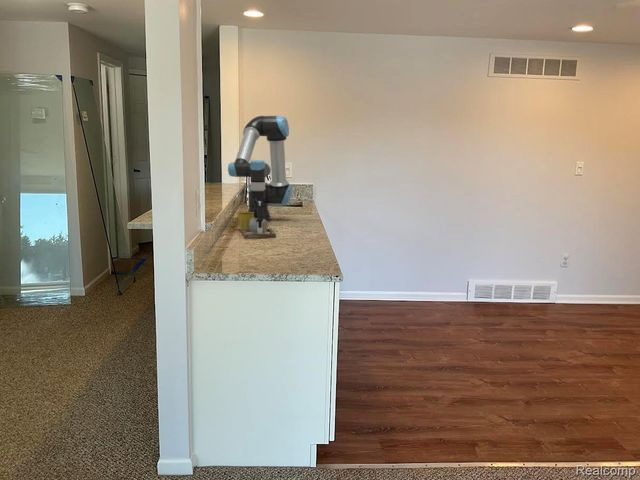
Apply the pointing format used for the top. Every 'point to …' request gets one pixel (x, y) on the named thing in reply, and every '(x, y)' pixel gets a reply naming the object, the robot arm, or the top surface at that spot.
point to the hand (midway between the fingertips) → (258, 231)
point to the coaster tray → (254, 235)
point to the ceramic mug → (254, 225)
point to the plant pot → (245, 219)
